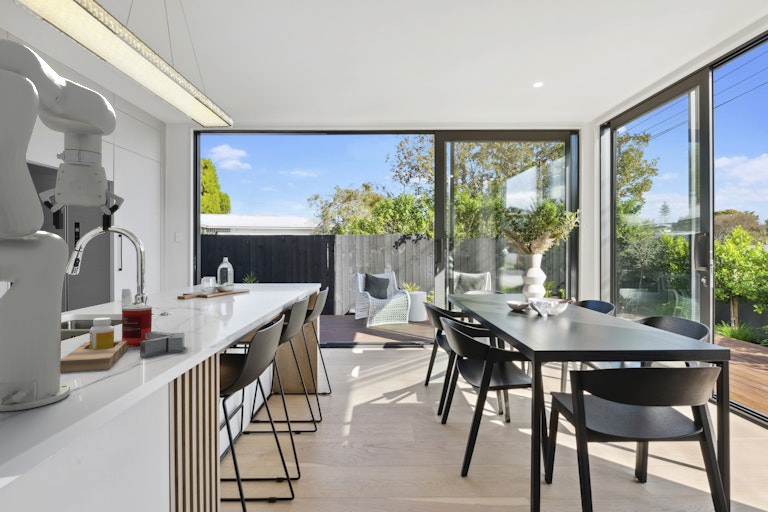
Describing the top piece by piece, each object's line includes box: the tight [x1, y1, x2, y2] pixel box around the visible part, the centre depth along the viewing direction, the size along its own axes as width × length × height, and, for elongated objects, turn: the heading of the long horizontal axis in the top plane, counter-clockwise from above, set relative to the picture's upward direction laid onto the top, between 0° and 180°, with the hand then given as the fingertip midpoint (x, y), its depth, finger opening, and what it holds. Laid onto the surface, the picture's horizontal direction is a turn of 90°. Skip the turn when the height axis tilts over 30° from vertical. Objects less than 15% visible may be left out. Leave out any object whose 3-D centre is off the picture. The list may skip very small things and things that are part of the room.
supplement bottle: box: [89, 317, 115, 349], centre depth 112 cm, size 5×5×10 cm
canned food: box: [121, 304, 153, 347], centre depth 126 cm, size 8×8×11 cm
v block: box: [139, 330, 186, 358], centre depth 119 cm, size 10×16×4 cm, turn 21°
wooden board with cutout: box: [60, 340, 128, 373], centre depth 107 cm, size 20×10×2 cm, turn 21°
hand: (82, 229), depth 104 cm, fingers open, 9 cm apart
